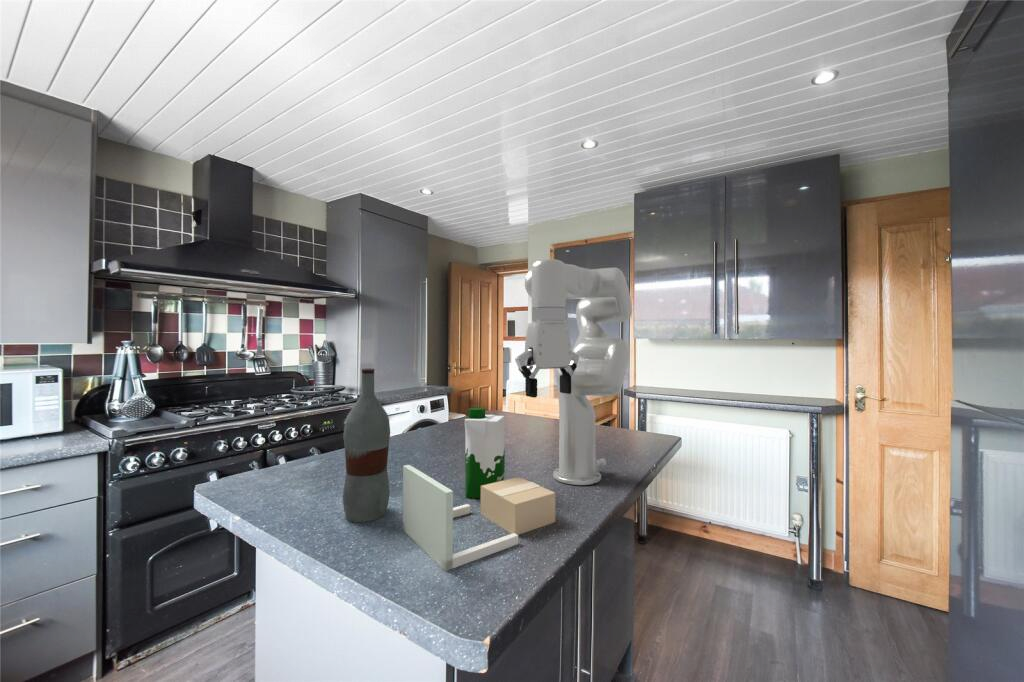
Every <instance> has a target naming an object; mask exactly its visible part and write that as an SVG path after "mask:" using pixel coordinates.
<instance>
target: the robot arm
mask: <svg viewBox="0 0 1024 682" xmlns="http://www.w3.org/2000/svg"><path fill="white" fill-rule="evenodd" d="M531 265H532V266H531V269H530V270H528V271H527V273H526V275H525V278H524V288H525V290H526V293H527V294H528V296H529V297H531V322H529V323H528V325H527V329H526V335H525V341H524V351H523V352H522V353H521V354H519V355H518V356H516V357H515V360H514V361H515V363H516V366H517V367H518V371H519V372H520V374H521V375H522V377H523V378H524V379H525V385H524V386H525V387H524V388H525V389H524V390H525V396H526V397H529V398H534V399H535V398H537V397H538V378H535V377H536V376H537V374H538V372H539V371H540V370H548V369H549V370H550V369H551V370H553V369H555V381H556V387H557V393H558V405H559V407H558V409H559V410H558V413H559V414H558V415H559V416H558V418H559V421H558V423H559V424H558V425H559V428H558V429H559V430H558V432H559V433H558V440H559V442H558V448H559V449H558V468H555V470H553V474H552V476H553V479H554V480H555V481H558V482H560V483H563V484H568V485H574V486H587V485H588V486H589V485H594V483H595V484H598V483H599V482H601V480H602V474H601V473H600V471H598V469H599V468H600V467H604V466H606V465H607V461H606V459H605V458H599V459H597V458H596V411H595V408H594V406H593V405H592V403H591V402H590V400H589V398H588V396H595V397H614V396H617V395H619V393H620V392H621V391H622V388H623V384H624V380H625V376H626V373H627V369H628V365H629V356H630V355H629V353H630V352H629V347H628V344H627V342H626V341H625V340H623V339H622V338H621V337H620V338H619V337H608V334H607V332H606V331H605V330H604V329H603V327H602V326H600V324H598V323H602V324H604V323H624V322H627V321H628V320H630V318H631V317H632V313H633V305H632V299H631V295H630V290H629V286H628V282H627V279H626V277H625V274H624V272H623V271H622V270H621V269H620V268H618V267H605V268H602V267H601V268H595V269H594V268H592V269H591V268H587V267H586V268H585V267H583V266H581V267H580V266H577V265H575V264H571V263H564V262H563V261H562V260H559V259H555V258H547V259H546V258H544V259H538V260H537V261H535V262H533V264H531ZM567 300H579V301H578V302H577V304H576V308H575V315H576V316H575V317H576V324H577V330H578V337H577V339H576V341H575V343H574V345H573V347H572V348H571V345H572V344H571V336H570V331H569V330H570V329H569V325H568V323H567V319H568V318H569V314H568V313H567V309H566V308H567V304H566V303H567ZM571 349H572V350H571Z"/></svg>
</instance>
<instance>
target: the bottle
mask: <svg viewBox="0 0 1024 682" xmlns="http://www.w3.org/2000/svg"><path fill="white" fill-rule="evenodd" d="M360 385H361V391H360V396H359V397H358V399H357V400H356V401H355V403H354V405H353V407H352V408H351V409H350V411H349V412H348V414H347V415H346V418H345V422H344V427H343V443H344V444H343V445H344V454H345V455H344V456H345V457H344V459H345V478H344V483H343V491H342V503H343V504H342V505H343V511H344V515H345V518H346V519H347V520H348V521H350V522H354V523H366V522H371V521H375V520H378V519H380V518H382V517H383V516H385V515H386V514H387V510H388V507H389V502H390V501H389V500H390V493H391V491H390V483H389V480H390V479H389V474H388V457H389V448H390V439H391V426H390V424H391V423H390V419H389V416H388V413H387V411H386V409H385V408H384V407H383V405H382V404H381V402H380V401H379V399H378V398H377V396H376V395H375V368H369V367H368V368H361V384H360Z"/></svg>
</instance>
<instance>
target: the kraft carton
mask: <svg viewBox="0 0 1024 682" xmlns="http://www.w3.org/2000/svg"><path fill="white" fill-rule="evenodd" d="M480 515H481V516H484V517H485V518H487V520H490V521H491V522H492V523H495V524H496V525H497V526H499V527H500V528H502V529H504V530H505V531H506V532H508V533H509V534H512V533H515V534H517V535H518V536H519V535H523V534H525V533H527V532H531V531H533V530H536V529H539V528H542V527H545V526H548V525H551V524H554V523H556V492H554V491H552V490H550V489H547V488H545V487H543V486H542V485H539V484H538V483H535V482H532V481H529V480H527V479H525V478H523V477H520V476H517V477H513V478H509V479H508V478H507V479H504V480H503V481H499V482H495V483H491V484H486V485H482V486H481V499H480Z"/></svg>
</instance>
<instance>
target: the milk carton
mask: <svg viewBox="0 0 1024 682" xmlns="http://www.w3.org/2000/svg"><path fill="white" fill-rule="evenodd" d="M467 410H468V411H467V413H468V414H467V415H468V416H467V418H466V417H465V419H463V420H464V430H465V431H464V433H465V448H464V449H465V452H464V453H465V457H464V458H465V459H464V462H465V465H464V468H465V469H464V472H465V473H464V475H465V477H464V479H465V498H466V499H467V498H468V499H480V500H481V486H482V485H486V484H491V483H495V482H499V481H503V480H505V471H506V470H505V467H506V466H505V465H506V463H505V462H506V461H505V460H506V459H505V457H506V456H505V455H506V454H505V452H506V451H505V448H506V446H505V445H506V444H505V443H506V436H505V434H506V433H505V431H506V430H505V416H504V415H495V414H486V408H485V407H479V406H477V407H469V408H467Z"/></svg>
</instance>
